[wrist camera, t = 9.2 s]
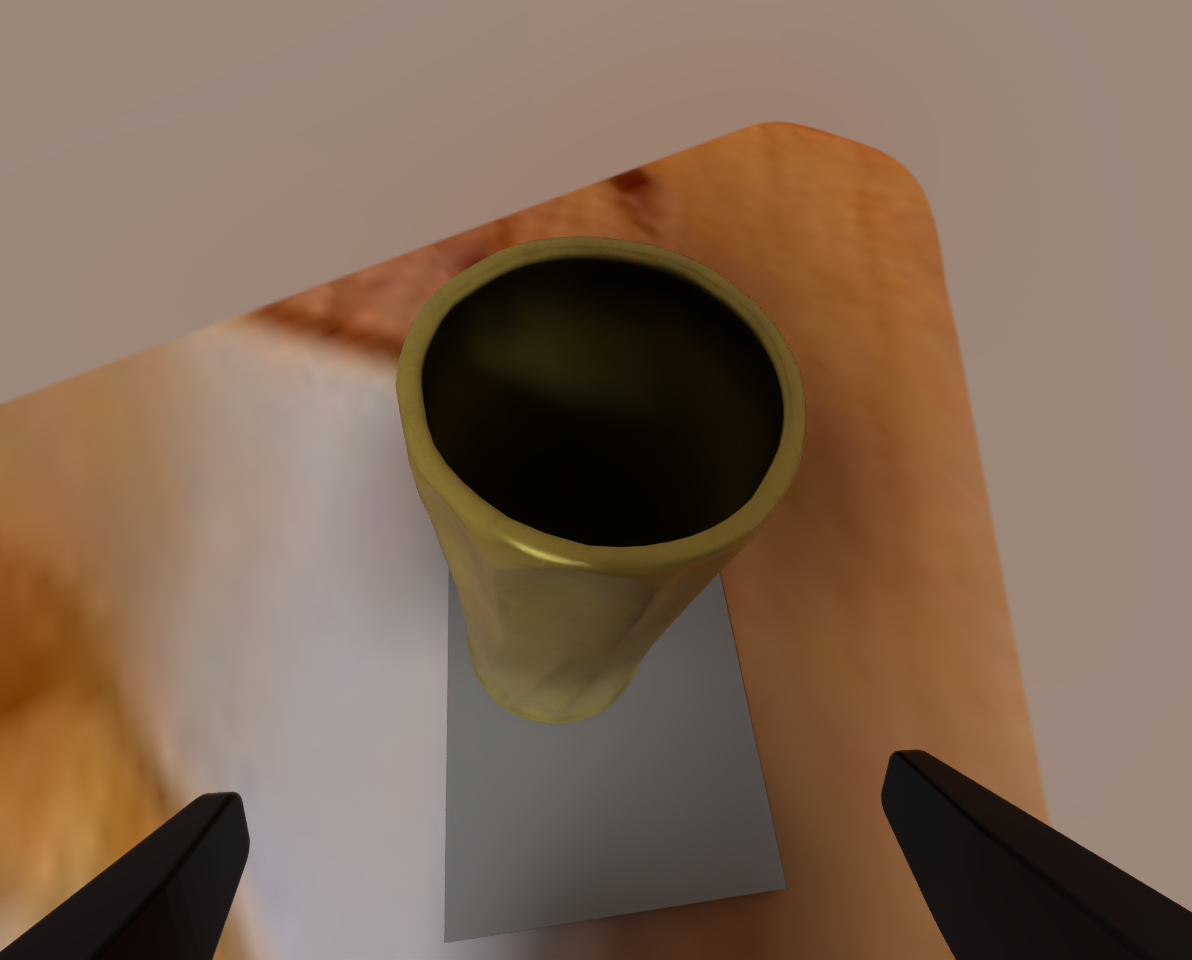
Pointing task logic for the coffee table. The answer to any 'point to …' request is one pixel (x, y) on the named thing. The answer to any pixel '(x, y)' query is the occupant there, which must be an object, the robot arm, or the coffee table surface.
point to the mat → (607, 791)
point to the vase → (591, 454)
